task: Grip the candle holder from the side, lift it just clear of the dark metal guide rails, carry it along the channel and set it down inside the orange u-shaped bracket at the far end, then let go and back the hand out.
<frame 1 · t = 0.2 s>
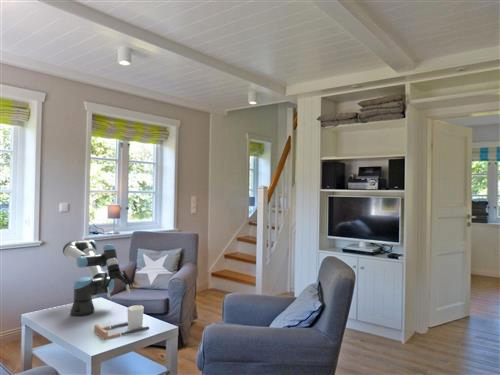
hand: (119, 295, 245), 15 cm above the table, tool tilted 35°, fingers open, 13 cm apart
orange u-shaped bracket: (111, 332, 221), on the table
candle holder: (135, 327, 232), on the table
guide rails: (122, 330, 226), on the table
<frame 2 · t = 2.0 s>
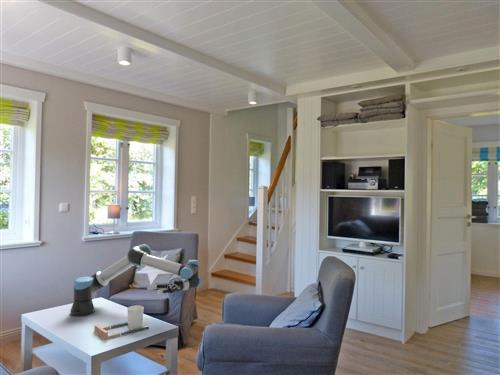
hand: (152, 290, 240), 21 cm above the table, tool horizontal, fingers open, 13 cm apart
nothing on the table moved.
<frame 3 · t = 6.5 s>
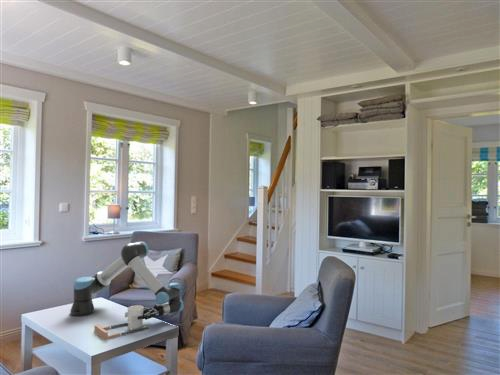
hand: (128, 316, 229), 7 cm above the table, tool horizontal, fingers closed on candle holder, 9 cm apart
candle holder: (135, 327, 232), on the table, touching gripper
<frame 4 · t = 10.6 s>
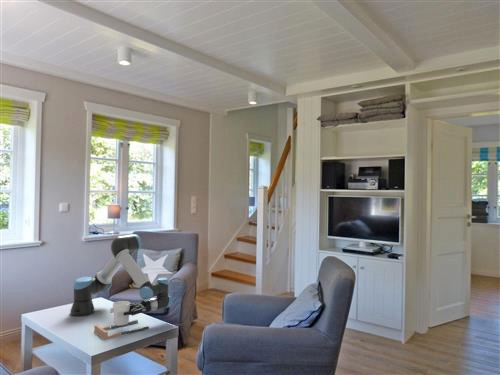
hand: (114, 312, 222), 12 cm above the table, tool horizontal, fingers closed on candle holder, 9 cm apart
candle holder: (121, 323, 225), point 4 cm above the table, touching gripper
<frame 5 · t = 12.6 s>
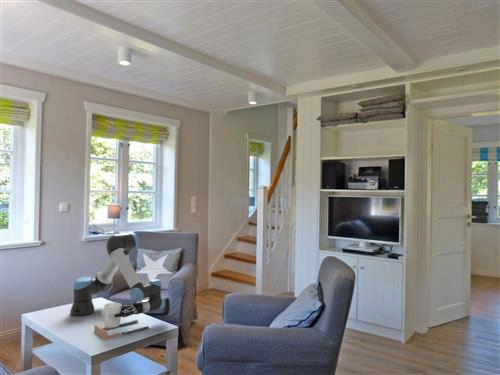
hand: (105, 314, 219), 12 cm above the table, tool horizontal, fingers closed on candle holder, 9 cm apart
candle holder: (112, 325, 222), point 4 cm above the table, touching gripper
when the fingers open (8 cm above the table, at t = 14.6 s): candle holder stays where it is, on the table.
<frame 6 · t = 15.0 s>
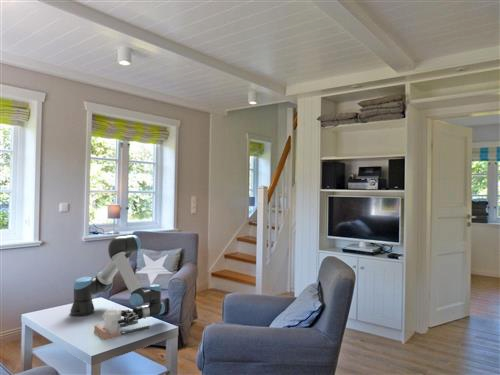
hand: (107, 319, 220), 8 cm above the table, tool horizontal, fingers open, 13 cm apart
candle holder: (112, 332, 222), on the table
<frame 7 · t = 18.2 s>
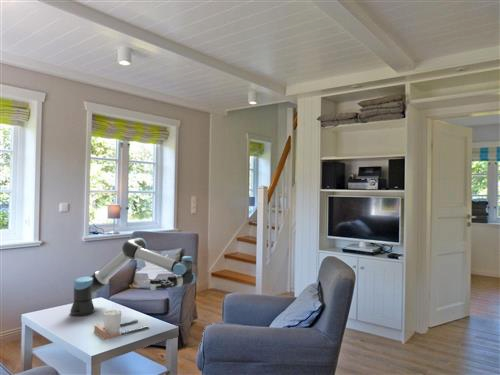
hand: (145, 285, 239), 24 cm above the table, tool horizontal, fingers open, 13 cm apart
nothing on the table moved.
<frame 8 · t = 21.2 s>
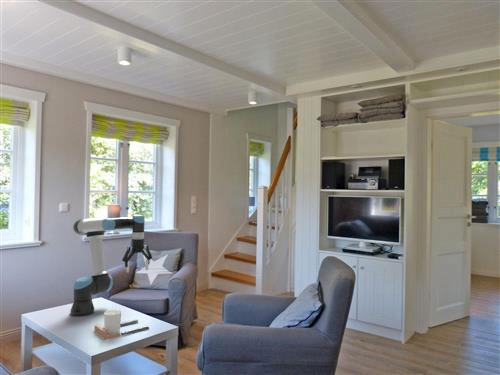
hand: (137, 270, 246), 32 cm above the table, tool pointing down, fingers open, 13 cm apart
nothing on the table moved.
at the end: candle holder inside the target area (0.0 cm from its centre), on the table; candle holder tilted 0°; the gripper is holding nothing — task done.
